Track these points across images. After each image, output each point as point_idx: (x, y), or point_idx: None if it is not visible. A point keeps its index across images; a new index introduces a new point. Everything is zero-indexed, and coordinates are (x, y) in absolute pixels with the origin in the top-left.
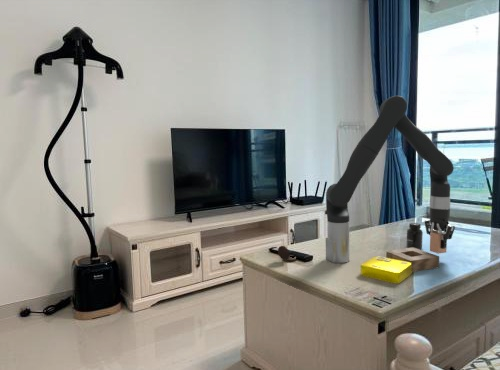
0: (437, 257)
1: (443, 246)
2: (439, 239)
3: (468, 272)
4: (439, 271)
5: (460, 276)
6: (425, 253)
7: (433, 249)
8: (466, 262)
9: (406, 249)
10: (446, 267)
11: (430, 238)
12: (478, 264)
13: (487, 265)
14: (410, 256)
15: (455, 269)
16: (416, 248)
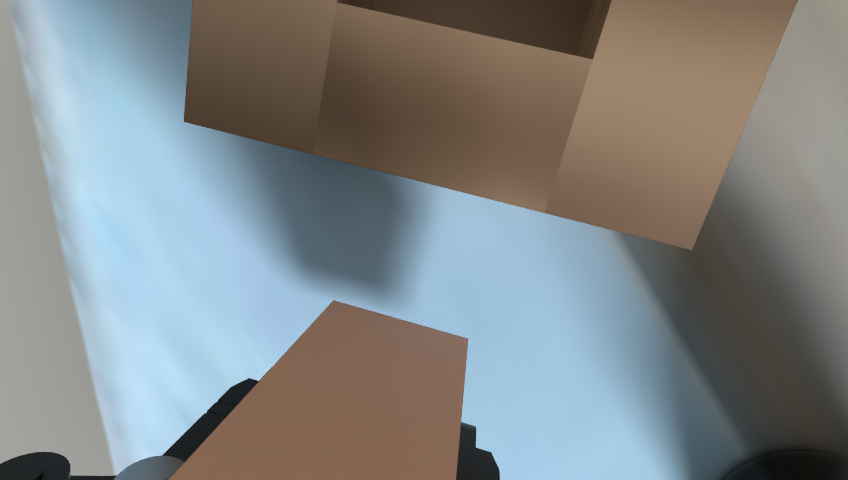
0: (195, 91)
1: (236, 389)
2: (214, 450)
3: (65, 207)
4: (188, 10)
5: (22, 48)
6: (370, 91)
7: (398, 336)
8: None
9: (711, 34)
10: (230, 184)
11: (447, 475)
12: (157, 451)
13: (115, 471)
14: (582, 36)
15: (158, 195)
16: (613, 227)
